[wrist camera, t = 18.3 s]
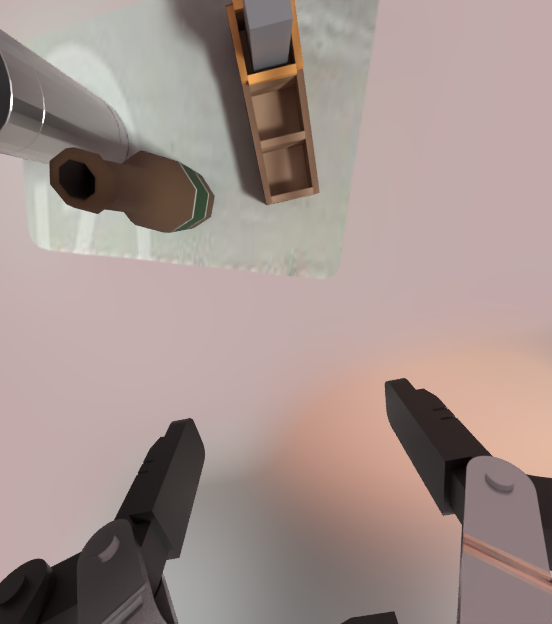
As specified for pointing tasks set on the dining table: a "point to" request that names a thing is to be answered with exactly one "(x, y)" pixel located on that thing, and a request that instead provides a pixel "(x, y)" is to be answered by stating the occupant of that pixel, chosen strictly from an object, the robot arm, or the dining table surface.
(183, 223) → the beer bottle
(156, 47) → the dining table surface
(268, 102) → the bay rack
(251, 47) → the block
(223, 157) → the dining table surface
